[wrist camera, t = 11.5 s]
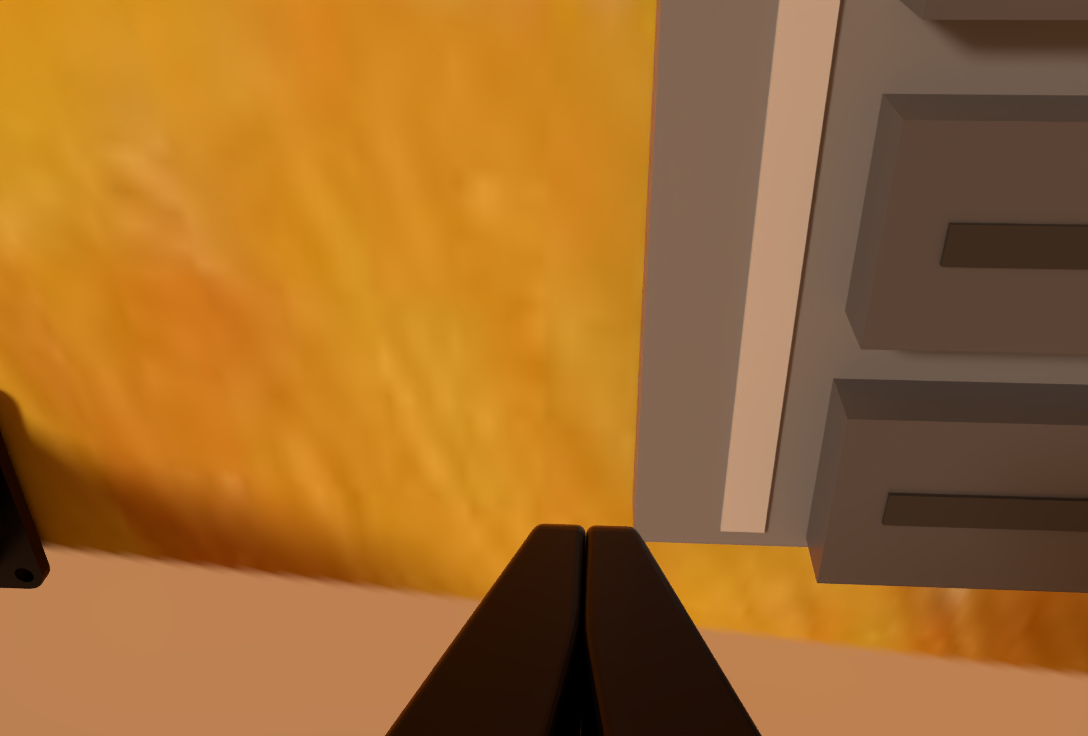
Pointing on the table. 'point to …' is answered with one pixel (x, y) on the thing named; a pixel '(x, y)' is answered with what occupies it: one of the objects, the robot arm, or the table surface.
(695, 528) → the panel
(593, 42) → the table surface
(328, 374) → the table surface
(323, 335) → the table surface
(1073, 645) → the table surface
